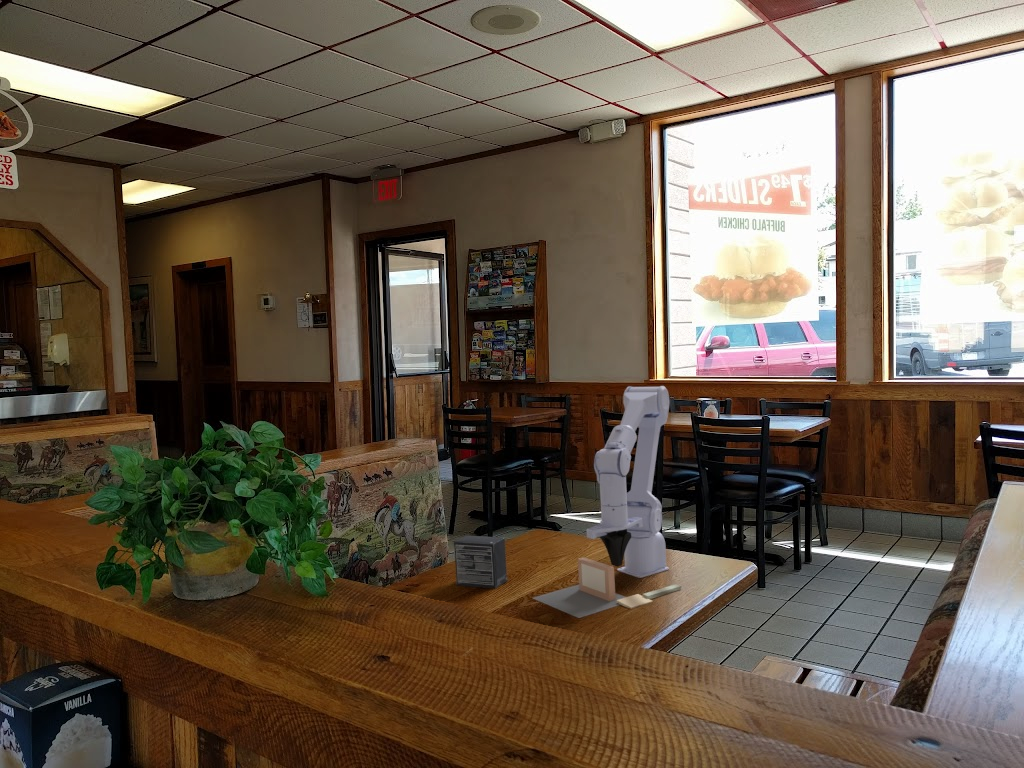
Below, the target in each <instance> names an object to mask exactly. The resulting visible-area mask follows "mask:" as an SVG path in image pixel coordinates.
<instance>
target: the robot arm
mask: <svg viewBox="0 0 1024 768" xmlns="http://www.w3.org/2000/svg"><path fill="white" fill-rule="evenodd" d="M622 401H623V406H624V412H623V416H622V418H621V422H620V424H618V425H615V426H614V427H613V429H612V431H611V432H610V435H609V437H608V439H607V441H606V443H605V445H604V447H603V448H602V449H600V450H599V451H597V452H595V456H594V461H593V468H594V472H595V474H596V481H597V484H599V493H600V494H599V496H600V515H601V520H600V522H599V523H598V524H596V525H593V526H590V527H589V528H586V538H587V539H591V540H596V539H597V538H598V537H599V538H600V539H601V542H602V543H603V545H604V546H605V548H606V551H607V554H608V556H609V557H608V558H609V561H610V564H611V566H613V567H619V568H617V571H618V572H620V573H623V574H627V575H630V576H632V577H635V578H639V579H640V578H644V577H648V576H651V575H655V574H658V573H662V572H665V571H669V570H670V568H669V567H668V566H667V553H666V551H667V549H666V548H667V547H666V541H665V538H664V536H663V534H662V533H661V532H660V530H662V524H663V514H662V511H663V510H662V509H663V506H662V503H661V501H660V500H659V499H658V498H657V497H655V495H653V494H652V491H653V483H654V476H655V469H656V468H655V467H656V461H657V453H658V445H659V440H660V439H659V438H660V432H661V427H662V426H664V425H665V424H666V423H668V422H667V420H668V417H669V410H670V395H669V390H668V389H667V388H666V386H664V385H660V386H630V385H629V386H627V387H626V388H625V389H624V392H623V397H622ZM637 428H638V436H637V433H636V431H637ZM636 441H637V443H636ZM635 443H636V448H635V449H636V451H635V457H634V465H633V470H632V471H633V472H632V478H631V484H630V485H631V486H630V490H629V491H628V490H627V475H628V473H629V472H630V466H631V459H632V456H631V453H632V451H633V448H634V446H635ZM627 491H628V492H627ZM623 561H624V566H623ZM621 566H622V567H621Z"/></svg>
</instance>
